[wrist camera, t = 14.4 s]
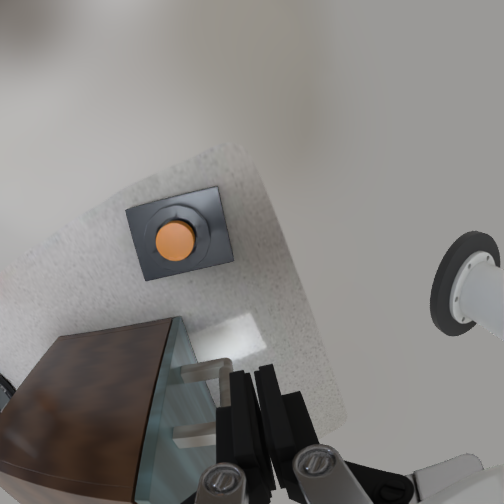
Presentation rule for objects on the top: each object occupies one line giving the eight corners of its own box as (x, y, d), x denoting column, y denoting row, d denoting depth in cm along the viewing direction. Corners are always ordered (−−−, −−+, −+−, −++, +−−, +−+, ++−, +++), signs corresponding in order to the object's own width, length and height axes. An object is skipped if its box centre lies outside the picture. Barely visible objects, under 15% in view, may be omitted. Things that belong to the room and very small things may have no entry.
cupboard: (171, 317, 33) (130, 502, 10) (225, 445, 40) (239, 568, 17) (59, 336, 32) (-28, 458, 9) (132, 452, 39) (114, 560, 16)
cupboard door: (222, 307, 34) (240, 496, 10) (262, 438, 41) (290, 560, 17) (173, 317, 33) (133, 500, 10) (227, 445, 40) (241, 567, 17)
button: (190, 216, 27) (188, 218, 25) (198, 251, 28) (197, 256, 26) (155, 225, 27) (151, 228, 25) (164, 259, 28) (161, 264, 26)
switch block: (217, 185, 30) (217, 186, 26) (233, 255, 32) (235, 266, 28) (130, 207, 30) (119, 212, 26) (149, 275, 32) (141, 287, 28)
